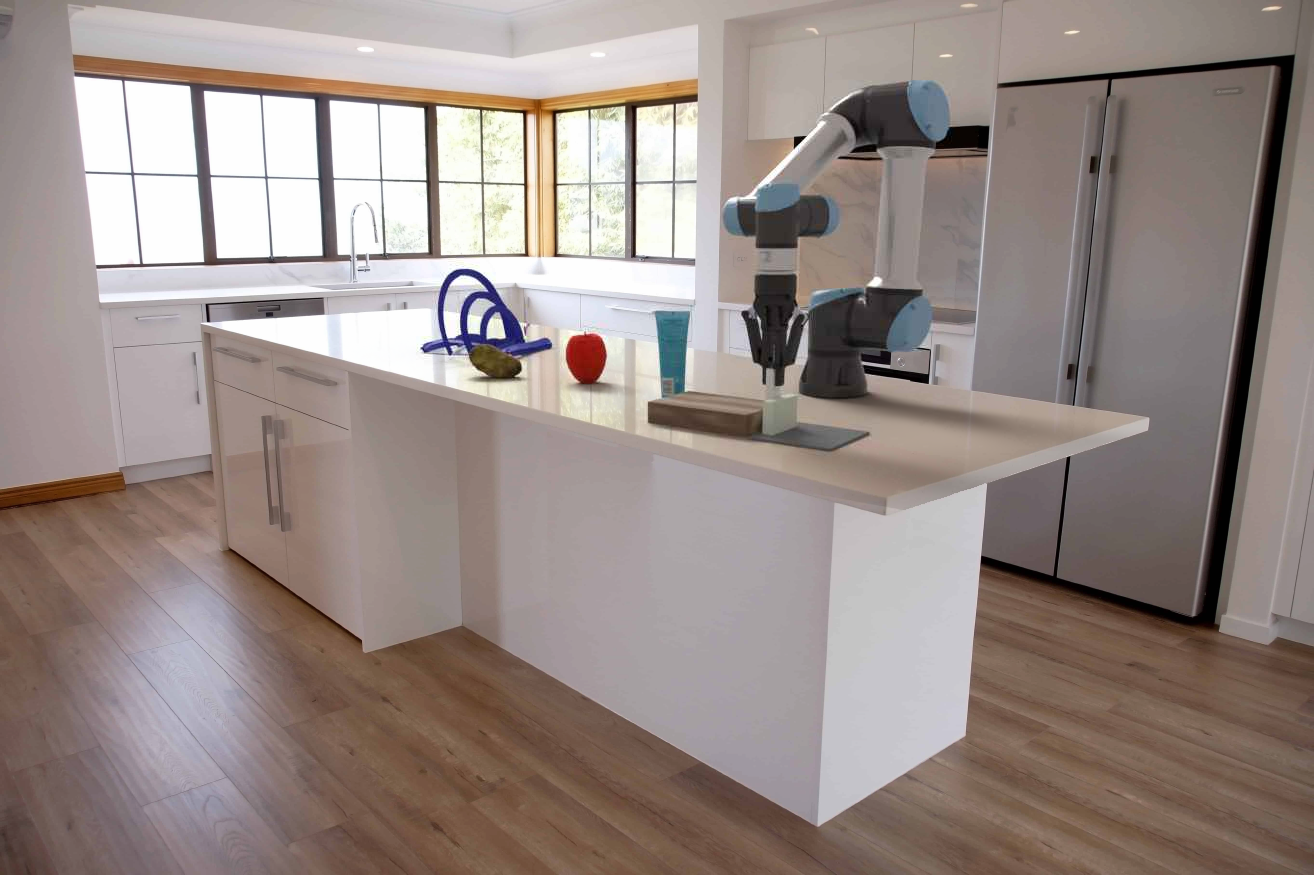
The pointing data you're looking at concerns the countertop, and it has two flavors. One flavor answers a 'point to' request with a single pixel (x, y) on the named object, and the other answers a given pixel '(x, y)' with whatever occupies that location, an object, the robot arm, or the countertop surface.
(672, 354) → the tube
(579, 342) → the apple
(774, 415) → the pale green block
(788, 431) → the mat
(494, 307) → the sculpture
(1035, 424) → the countertop surface
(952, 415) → the countertop surface
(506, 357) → the potato
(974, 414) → the countertop surface
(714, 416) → the board
